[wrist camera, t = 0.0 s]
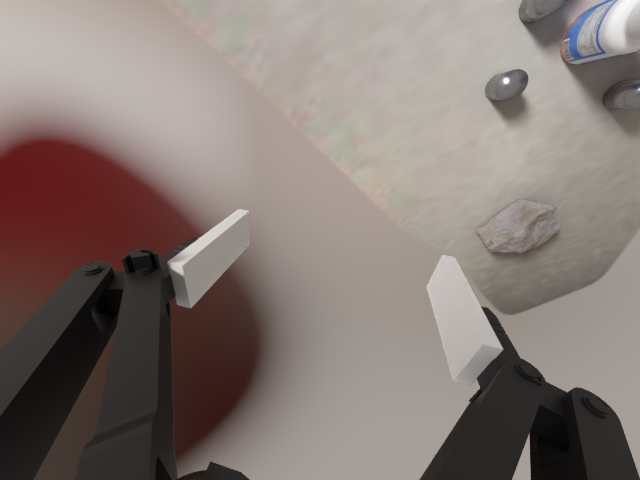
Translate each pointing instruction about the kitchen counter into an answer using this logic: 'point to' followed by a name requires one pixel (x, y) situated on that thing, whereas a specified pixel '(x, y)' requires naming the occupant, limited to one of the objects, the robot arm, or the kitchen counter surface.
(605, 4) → the pill bottle
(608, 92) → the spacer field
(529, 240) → the stone
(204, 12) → the kitchen counter surface
